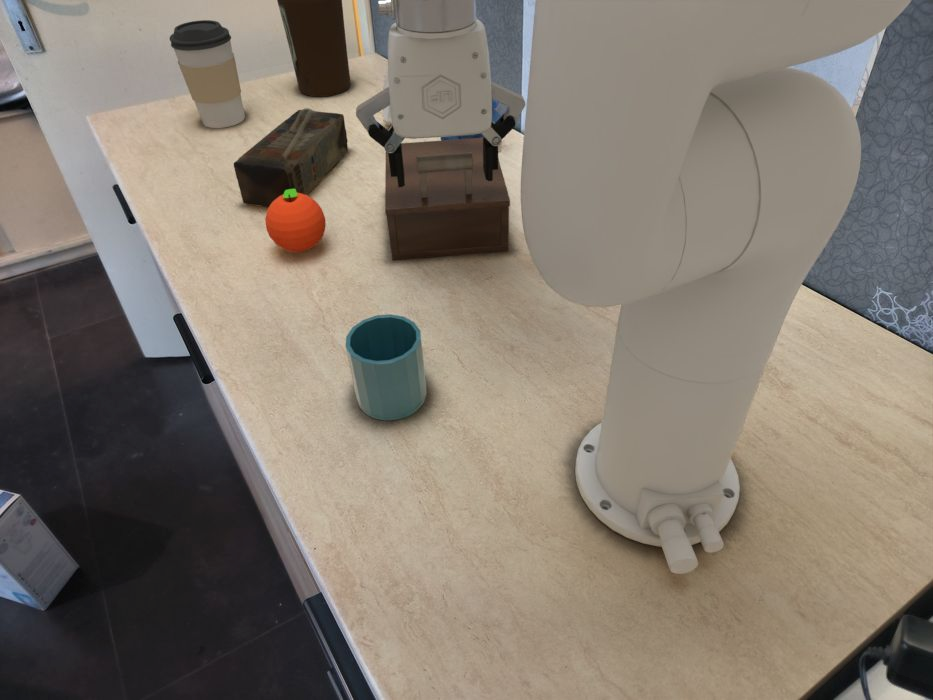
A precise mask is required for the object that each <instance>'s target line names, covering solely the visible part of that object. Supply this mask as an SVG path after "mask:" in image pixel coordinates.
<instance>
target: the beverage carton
mask: <svg viewBox="0 0 933 700" xmlns="http://www.w3.org/2000/svg"><path fill="white" fill-rule="evenodd" d="M345 123H346V121H345V116H344V114H342V113H339V112H326V111H316V110H313V109H312V108H309V107H306V108H303V109H298V110H297V111H295V112H294V113H293V114H291V115H290V116H289V117H288V118H287V119H285V120H284V121H283V122H281V123H280V124H279V125H277V126H276V127H275V128H273V129H272V130H271V131H270V132H268V134H266V135H265V136H264V137H263V138H262V139H260V140H259V141H258V142H257V143H256V144H254V145H253V146H252V147H250V148H249V149H248V150H247V151H246V152H245V153H243V154H242V155H241V156H239V157H238V158H237V160H236V161H235V162H233V168H234V173H235V178H236V180H237V184H238V188H239V191H240V196H241V198H242V203H243V204H245V205H251V206H259V207H264V208H265V207H266V208H269V206H270V205H271V203H272V202H273V201H274V200H275V199H277V198H278V197H279V196H281V195H283V194H284V192H285V190H288V189H296V192H297V193H301V194H304V195H307V196H308V194H309V193H311V192H312V191H313V189H314V188H316V186H317V185H318V184H319V183H320V181H321V180H322V179H324V177H325V176H326V175H327V174H328V173H329V172H330V171H331V170H332V169H333V168H334V167H335V165H336V164H337V163H338V162H339V161H340V160H341V159H342V157H343V156H345V154H346V153H347V152H348V151H349V148H348V142H349V141H348V136H347V135H348V134H347V129H346V124H345Z"/></svg>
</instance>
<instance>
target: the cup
mask: <svg viewBox="0 0 933 700" xmlns="http://www.w3.org/2000/svg"><path fill="white" fill-rule="evenodd" d="M345 350H346V355H347V359H348V364H349V369H350V374H351V379H352V384H353V388H354V393H355V398H356V401H357V404H358V407H359V408H360V409H361V411H362V412H363V413H364V414H365V415H367V416H369V417H371V418H372V419H376V420H379V421H387V422H388V421H389V422H390V421H398V420H403V419H405V418H407V417H409V416H411V415H413V414H416V412H417V411H419V410H420V408H421V407H422V406H423V405H424V403H425V401H426V398H427V395H428V394H427V393H428V392H427V391H428V390H427V380H426V372H425V370H426V369H425V361H424V352H423V342H422V333H421V329H420V328H419V326H418V325H417V324H416V323H415V322H414V321H413V320H412V319H410V318H408V317H406V316H402V315H397V314H392V313H391V314H378V315H374V316H370V317H368V318H365V319H364V318H363V319H362V320H360V322H358V323H356V325H353V326H352V327H351V329H350V330H349V331H348V333H347V334H346V337H345Z"/></svg>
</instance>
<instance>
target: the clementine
mask: <svg viewBox="0 0 933 700" xmlns="http://www.w3.org/2000/svg"><path fill="white" fill-rule="evenodd" d="M264 219H265V229H266V231H267V234H268V236H269V238H270V239H271V240H272V241H273V242H274V243H275V244H276V246H277V247H280V248H281V249H283V250H284V251H288V252H294V253H301V252H305V251H309V250H311V249H313V248H314V247H316V246H317V245H318V244H319V243H320V241H321V240H322V238H323V237H324V235H325V231H326V227H327V226H326V217H325V213H324V210H323V208H322V207H321V206H320V204H319V203H318V202H317V201H316V200H315V199H314V198H313V197H311V196H309V195H308V194H307V195H304V194H301V193H297V192H296V189H288V190H285V192H284V194H283V195H281V196H279V197H278V198H277V199H275V200H274V201H273V202H272V203H271V205H270V206H269V207H267V210H266V214H265V218H264Z"/></svg>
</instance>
